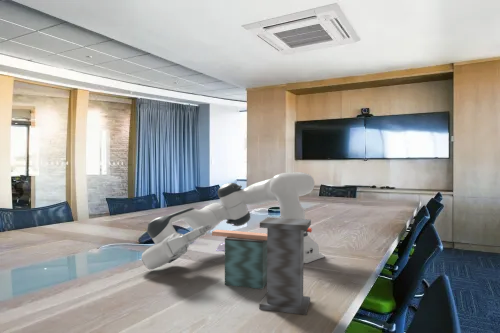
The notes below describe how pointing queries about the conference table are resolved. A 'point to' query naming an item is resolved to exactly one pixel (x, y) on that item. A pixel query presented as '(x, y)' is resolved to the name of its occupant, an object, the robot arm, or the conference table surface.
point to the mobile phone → (221, 247)
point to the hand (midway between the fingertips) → (205, 228)
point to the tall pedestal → (285, 265)
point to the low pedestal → (245, 262)
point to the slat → (240, 234)
